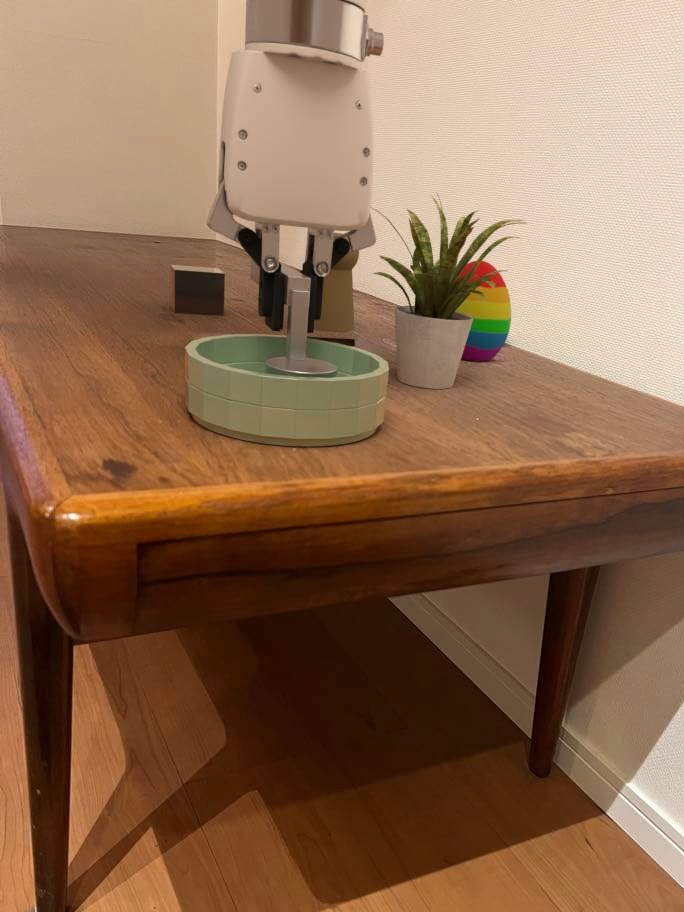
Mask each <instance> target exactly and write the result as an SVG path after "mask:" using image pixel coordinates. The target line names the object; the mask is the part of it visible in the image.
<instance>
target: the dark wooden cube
mask: <svg viewBox="0 0 684 912" xmlns="http://www.w3.org/2000/svg"><path fill="white" fill-rule="evenodd" d="M169 266H170V269H169V270H170V272H169V274H170V277H169V278H170V308H171V309H172V311H173V313H174V314H181V315H198V316H214V317H224V316H225V289H226V288H225V287H226V286H225V285H226V283H225V282H226V281H225V280H226V274H225V272H224V271H222V270H221V269H220V268H218V267H207V266H194V265H181V264H180V265H179V264H170V265H169Z"/></svg>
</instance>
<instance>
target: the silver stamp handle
mask: <svg viewBox="0 0 684 912" xmlns="http://www.w3.org/2000/svg"><path fill="white" fill-rule="evenodd" d="M279 262H280V264H281V273H282V274H283V275H284V276H285V290H284V306H286V307H288V308H287V325H286V336H287V342H286V356H287V357H275V358H271V359H268V360H267V361H266V367H265V374H273V375H283V376H293V377H317V378H334V377H337V367H336V366H335V365H334V364H332V363H329V362H326V361H322V360H318V359H312V358H305V357H306V341H307V337H308V333H307V325H308V309H309V298H310V282H311V278H309V277H307V276H306V275H304V274H302V273H300V271H298V270H296V269H295V268H293V267H291V266H290V265H288V264H285V263H284V262H282V261H280V260H279ZM259 273H260V267H259V266H257V264H256V263H255V262H254V260H253V259H252V258H251V257H250V274H249V275H250V277H249V279H250V280H252V281H253V282H254V283H255V284H257V285H258V286H259Z"/></svg>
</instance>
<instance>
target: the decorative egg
mask: <svg viewBox="0 0 684 912" xmlns="http://www.w3.org/2000/svg"><path fill="white" fill-rule="evenodd" d="M476 261H477V260H474V261H471V262H470V261H469V262H468V263H467V265H466V266H465V268H464V269H463V270H462V272H461V273H460V275H459V276H458V278H457V280H458V279H459V278H460V277H462V276H463V275H465V274H467V273H468V272H469V270H470V269H471V268H472V267H473V265H474V264H475V263H476ZM494 271H498V269H497V268H496V267H495V266H494V265H492V264H491V263H489V262H487V261H485V260H482V261H481V262H480V263H479V265H478V266H477V267H476V269H475V270H474V271H473V273H472V274H474V275H477V276H485V275H487V274H489V273H491V272H494ZM480 279H481V278H480V277H473V278H471V279H469V280H468V281H467V282H466V283H468V282H470V281H473V280H480ZM489 279H490V281H492V282H494V283H495V287H494V291H493V288H492V287H490V285H489V284H488V283H487V282H483V283H482V284H481V285H479V286H478V287H477V288H476V289H475V291H480V292H482V293H483V295H484V297H485V299H486V300H485V299H484V297H482V296H480V295H478V294H474V293H471V294H470V295H469V296H468V297H467V298H466V299H465V301H464V302H463V303H462V304H461V305H460V306H459V307H458V308H457V309H456V311H457V312H461V313H464V314H467V315H470V316H472V317H473V321H472V325H471V328H470V331H469V334H468V338H467V341H466V344H465V347H464V351H463V354H462V357H461V360H465V361H473V362H487V361H491V360H492V359H494V358H495V357H496V356H497V355H498V354H499V352H501V350H502V348H503V347H504V345H505V343H506V342H507V339H508V336H509V333H510V329H511V324H512V323H511V322H512V304H511V297H510V293H509V290H508V286H507V284H506V282H505V280H504V278H503V277H502V275H501V272H498V273H496V274H495V275H493V276H491V277H490V278H489ZM457 280H456V281H457ZM456 281H455V282H456ZM466 283H465V284H466ZM468 290H469V289H468ZM468 290H467V291H468Z"/></svg>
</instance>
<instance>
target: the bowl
mask: <svg viewBox="0 0 684 912" xmlns="http://www.w3.org/2000/svg"><path fill="white" fill-rule="evenodd" d="M286 342H287V335H282V334H264V333H263V334H262V333H236V334H233V333H232V334H231V333H229V334H222V335H213V336H204V337H201V338H198V339H194V340H191V341H189V343H187V344H186V345H185V347H184V404H185V406H186V408H187V411H188V413H189V414H190V416H191V417H192V419H193V420H194V421H195V422H196V423H197V424H198V425H200V426H202V427H204V428H205V429H207V430H210V431H212V432H214V433H217V434H220V435H223V436H226V437H230V438H234V439H237V440H241V441H248V442H251V443H257V444H264V445H273V446H284V447H330V446H340V445H344V444H345V445H346V444H351V443H356V442H358V441H362V440H364V439H367V438H369V437H370V436H372V435H374V434H375V433H376V432H377V431H378V428H379V427H380V426H381V425H382V424H383V423H384V420H385V419H384V418H385V410H386V400H387V392H388V384H389V383H388V382H389V373H390V367H389V362H388V361H387V360H385V359H384V358H383V357H381V356H379V355H378V354H375V353H373V352H370V351H367V350H365V349H362V348H359V347H356V346H353V347H351V346H347V345H343V344H339V343H335V342H329V341H323V340H317V339H310V338H307V341H306V357H305V358H312V359H318V360H322V361H326V362H329V363H332V364H334V365H335V366H336V367H337V377H334V378H317V377H293V376H283V375H273V374H265V367H266V361H267V360H268V359H271V358H275V357H287V356H286Z"/></svg>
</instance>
